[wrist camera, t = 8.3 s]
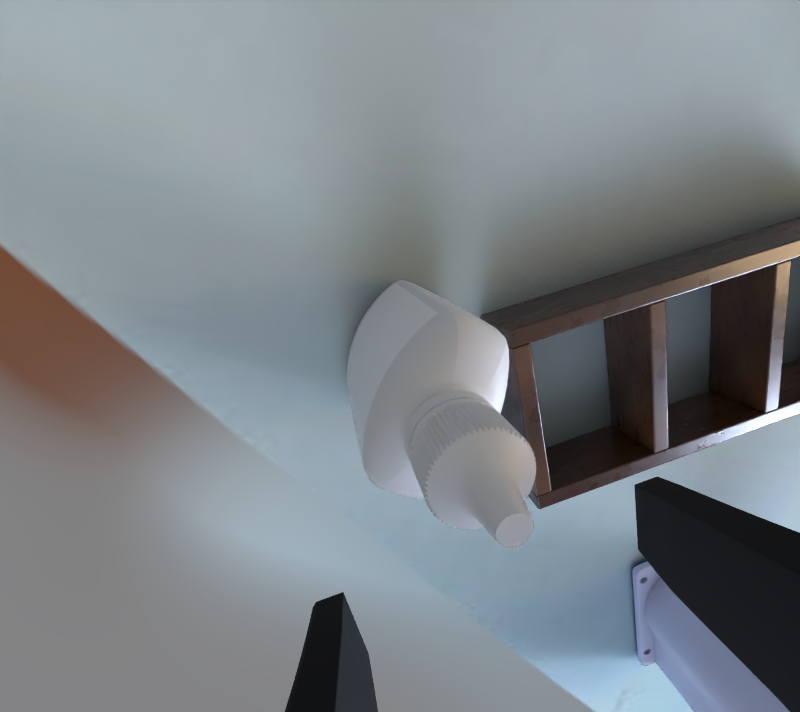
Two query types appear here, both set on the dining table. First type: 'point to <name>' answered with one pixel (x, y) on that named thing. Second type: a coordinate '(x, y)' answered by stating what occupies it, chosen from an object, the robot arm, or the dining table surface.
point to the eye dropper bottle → (439, 412)
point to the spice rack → (661, 360)
